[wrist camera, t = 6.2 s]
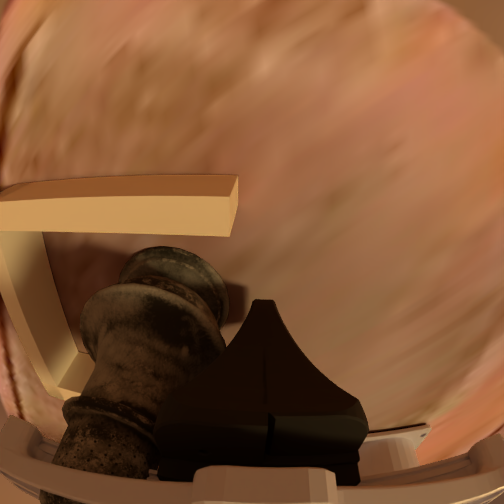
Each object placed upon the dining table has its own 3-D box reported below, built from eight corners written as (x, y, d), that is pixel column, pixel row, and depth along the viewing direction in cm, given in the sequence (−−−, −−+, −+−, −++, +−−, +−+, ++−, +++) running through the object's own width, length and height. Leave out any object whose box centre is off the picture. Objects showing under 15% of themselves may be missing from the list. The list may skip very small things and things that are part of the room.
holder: (237, 386, 16) (232, 430, 14) (69, 362, 17) (49, 395, 14) (238, 175, 11) (229, 196, 9) (17, 183, 12) (-24, 203, 9)
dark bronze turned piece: (128, 342, 15) (42, 549, 4) (102, 239, 13) (-79, 469, 2) (238, 350, 15) (212, 600, 4) (234, 240, 13) (162, 606, 2)
